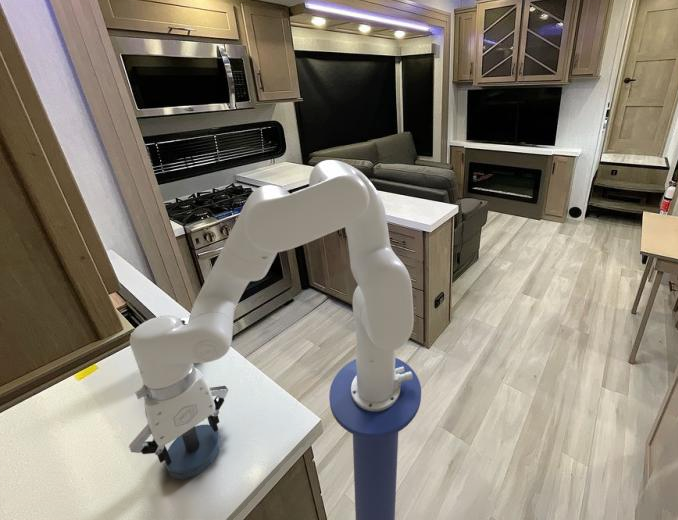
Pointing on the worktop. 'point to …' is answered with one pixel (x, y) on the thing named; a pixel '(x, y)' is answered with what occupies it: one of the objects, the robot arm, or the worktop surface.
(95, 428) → the worktop surface
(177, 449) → the blue disc with peg
